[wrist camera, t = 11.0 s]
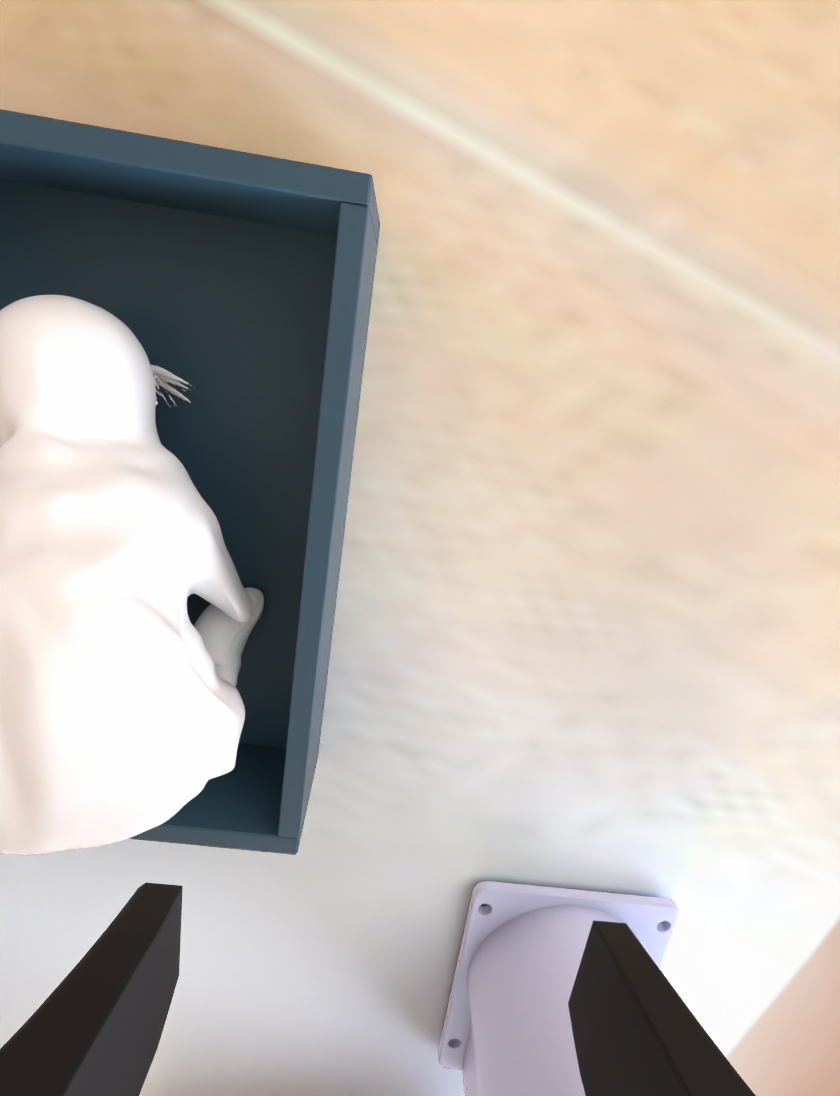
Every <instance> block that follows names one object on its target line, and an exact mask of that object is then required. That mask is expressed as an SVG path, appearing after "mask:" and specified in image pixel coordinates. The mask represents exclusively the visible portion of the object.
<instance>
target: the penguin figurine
mask: <svg viewBox="0 0 840 1096" xmlns="http://www.w3.org/2000/svg"><path fill="white" fill-rule="evenodd" d="M174 379H175V380H174ZM176 380H177V381H180V382H183V383H186V384H189V383H188V382H186V381H184V380H183V379H181V378H179V377H177V376H175V375H173V374H172V373H171V372H169V371H167V370H165V369H163V368H161V367H159V366H155V365H150V363H149V360H148V357H147V355H146V353H145V351H144V349H143V347H142V345H141V344H140V342H139V341H138V339H137V338H136V337H135V335H134V334H133V333H132V331H131V330H130V329H129V328H128V327H127V326H126V325H125V324H124V323H123V322H122V321H120V320H119V319H118V318H117V317H115V316H114V315H112V314H111V313H109V312H108V311H106V310H105V309H103V308H100V307H98V306H96V305H93V304H91V303H89V302H86V301H83V300H80V299H77V298H74V297H70V296H64V295H38V296H32V297H27V298H23V299H20V300H18V301H15V302H13V303H11V304H9V305H8V306H6V307H4V308H3V309H2V310H0V853H6V854H16V855H22V854H27V855H36V854H45V853H52V852H57V851H61V850H75V849H82V848H89V847H95V846H101V845H107V844H111V843H116V842H119V841H122V840H126V839H128V838H131V837H134V836H136V835H138V834H140V833H142V832H145V831H147V830H149V829H152V828H154V827H156V826H159V825H161V824H163V823H164V822H166V821H167V820H169V819H170V818H171V817H172V816H174V815H175V814H176V813H177V812H178V811H179V810H180V809H181V808H182V807H183V806H184V805H185V804H186V803H188V802H189V801H190V800H191V799H193V798H194V797H195V796H197V795H198V794H199V793H200V792H201V791H202V790H203V788H204V786H205V784H206V783H207V781H208V780H209V779H212V778H215V777H218V776H221V775H224V774H226V773H228V772H230V771H232V770H233V769H234V767H235V762H236V754H237V748H238V743H239V739H240V735H241V731H242V728H243V724H244V720H245V708H244V704H243V701H242V698H241V696H240V694H239V692H238V690H237V688H236V687H235V686H236V684H237V679H238V673H239V671H240V668H241V655H242V652H243V650H244V647H245V644H246V641H247V639H248V637H249V635H250V633H251V631H252V629H253V628H254V626H255V625H256V623H257V622H258V620H259V618H260V616H261V615H262V611H263V608H264V596H263V594H262V592H261V591H260V590H258V589H256V588H252V587H246V588H244V587H243V585H242V583H241V581H240V578H239V576H238V573H237V570H236V568H235V566H234V563H233V561H232V559H231V556H230V554H229V552H228V550H227V548H226V546H225V543H224V540H223V536H222V532H221V529H220V525H219V522H218V520H217V518H216V516H215V514H214V513H213V511H212V510H211V508H210V507H209V506H208V504H207V503H206V502H205V501H204V499H203V498H202V497H201V495H200V494H199V492H198V491H197V489H196V487H195V486H194V484H193V482H192V480H191V479H190V477H189V475H188V473H187V471H186V469H185V468H184V466H183V465H182V463H181V462H180V461H179V460H178V458H177V457H176V456H175V455H173V454H172V453H171V452H170V451H168V450H167V449H166V448H165V447H164V446H163V445H162V444H161V442H160V439H159V436H158V432H157V428H156V421H155V407H156V405H157V404H158V402H157V401H156V400H157V398H156V392H157V393H158V394H159V395H160V396H161V395H162V396H163V398H164V395H163V394H162V393H161V392H160V393H161V394H160V393H159V392H158V391H157V389H156V387H155V385H156V386H157V387H158V389H159V386H161V387H163V388H164V389H166V390H168V391H169V392H171V393H172V394H174V395H176V396H177V397H180V398H181V399H183V400H184V401H185V400H186V401H188V402H189V403H191V402H190V401H189V400H188V399H187V398H186V397H184V396H183V395H182V394H181V393H180V392H178V391H177V390H175V389H174V388H173V387H171V386H170V385H168V384H167V382H169V383H172V384H174V385H175V384H176V385H179V386H181V387H183V388H186V389H189V388H187V387H186V386H184V385H182V384H181V383H179V382H177V381H176ZM165 382H166V383H165ZM158 385H159V386H158ZM176 385H175V386H176ZM190 386H192V385H190ZM183 390H184V389H183ZM184 391H185V390H184ZM185 392H186V391H185ZM169 397H170V395H169ZM164 399H165V398H164ZM171 399H172V398H171V397H170V400H171ZM165 400H166V399H165ZM172 401H173V400H172ZM173 402H174V401H173ZM166 403H167V402H166ZM174 404H175V402H174ZM175 405H176V404H175ZM168 406H169V405H168ZM176 406H177V405H176ZM170 408H171V407H170ZM191 594H197V595H199V596H200V597H202V598H203V599H205V600H207V601H208V602H210V603H211V604H210V605H209V606H208V607H207V608H206V609H205V610H204V611H203V612H202V614H201V615H200V616H199V618H198V620H197V621H196V623H195V624H194V626H193V625H192V623H191V622H190V620H189V617H188V613H187V597H188V596H189V595H191Z"/></svg>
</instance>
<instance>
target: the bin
mask: <svg viewBox="0 0 840 1096" xmlns="http://www.w3.org/2000/svg"><path fill="white" fill-rule="evenodd" d="M379 228H380V221H379V216H378V210H377V204H376V197H375V191H374V185H373V179H372V176H371V175H370V174H366V173H360V172H354V171H349V170H343V169H337V168H332V167H326V166H320V165H315V164H309V163H303V162H297V161H292V160H286V159H280V158H275V157H269V156H263V155H258V154H252V153H246V152H240V151H235V150H229V149H223V148H218V147H212V146H206V145H201V144H195V143H189V142H184V141H178V140H172V139H166V138H161V137H155V136H149V135H144V134H138V133H132V132H127V131H121V130H115V129H110V128H104V127H98V126H92V125H87V124H81V123H75V122H70V121H64V120H58V119H53V118H47V117H41V116H36V115H30V114H24V113H18V112H13V111H7V110H1V109H0V310H2V309H3V308H4V307H6V306H8V305H9V304H11V303H13V302H15V301H18V300H20V299H23V298H27V297H32V296H38V295H64V296H70V297H74V298H77V299H80V300H83V301H86V302H89V303H91V304H93V305H96V306H98V307H100V308H103V309H105V310H106V311H108V312H109V313H111V314H112V315H114V316H115V317H117V318H118V319H119V320H120V321H122V322H123V323H124V324H125V325H126V326H127V327H128V328H129V329H130V330H131V331H132V333H133V334H134V335H135V337H136V338H137V339H138V341H139V342H140V344H141V345H142V347H143V349H144V351H145V353H146V355H147V357H148V360H149V363H150V365H155V366H159V367H161V368H163V369H165V370H167V371H169V372H171V373H172V374H173V375H175V376H177V377H179V378H181V379H183V380H184V381H186V382H188V383H189V384H186V383H183V382H180V381H177V380H176V381H177V382H179V383H181V384H182V385H184V386H186V387H187V388H189V389H186V388H183V387H181V386H179V385H176V384H175V385H176V386H175V385H174V384H172V383H169V382H167V384H168V385H170V386H171V387H173V388H174V389H175V390H177V391H178V392H180V393H181V394H182V395H183V396H184V397H186V398H187V399H188V400H189V401H190V402H191V403H189V402H188V401H186V400H185V401H184V400H183V399H181V398H180V397H177V396H176V395H174V394H172V393H171V392H169V391H168V390H166V389H164V388H163V387H161V386H159V385H158V386H159V389H158V387H157V386H156V385H155V387H156V389H157V391H158V392H159V393H160V392H161V393H162V394H163V395H164V398H165V399H166V400H165V399H164V398H163V396H162V395H161V396H160V395H159V394H158V393H157V392H156V398H157V400H156V401H157V402H158V404H157V405H156V407H155V421H156V428H157V432H158V436H159V439H160V442H161V444H162V445H163V446H164V447H165V448H166V449H167V450H168V451H170V452H171V453H172V454H173V455H175V456H176V457H177V458H178V460H179V461H180V462H181V463H182V465H183V466H184V468H185V469H186V471H187V473H188V475H189V477H190V479H191V480H192V482H193V484H194V486H195V487H196V489H197V491H198V492H199V494H200V495H201V497H202V498H203V499H204V501H205V502H206V503H207V504H208V506H209V507H210V508H211V510H212V511H213V513H214V514H215V516H216V518H217V520H218V522H219V525H220V529H221V532H222V536H223V540H224V543H225V546H226V548H227V550H228V552H229V554H230V556H231V559H232V561H233V563H234V566H235V568H236V570H237V573H238V576H239V578H240V581H241V583H242V585H243V587H244V588H246V587H252V588H256V589H258V590H260V591H261V592H262V594H263V596H264V608H263V611H262V615H261V616H260V618H259V620H258V622H257V623H256V625H255V626H254V628H253V629H252V631H251V633H250V635H249V637H248V639H247V641H246V644H245V647H244V650H243V652H242V655H241V668H240V671H239V673H238V679H237V684H236V686H235V687H236V688H237V690H238V692H239V694H240V696H241V698H242V701H243V704H244V708H245V720H244V724H243V728H242V731H241V735H240V739H239V743H238V748H237V754H236V762H235V767H234V769H233V770H232V771H230V772H228V773H226V774H224V775H221V776H218V777H215V778H212V779H209V780H208V781H207V783H206V784H205V786H204V788H203V790H202V791H201V792H200V793H199V794H198V795H197V796H195V797H194V798H193V799H191V800H190V801H189V802H188V803H186V804H185V805H184V806H183V807H182V808H181V809H180V810H179V811H178V812H177V813H176V814H175V815H174V816H172V817H171V818H170V819H169V820H167V821H166V822H164V823H163V824H161V825H159V826H156V827H154V828H152V829H149V830H147V831H145V832H142V833H140V834H138V835H136V836H134V837H131V838H128V839H138V840H149V841H159V842H169V843H180V844H190V845H200V846H210V847H221V848H231V849H241V850H251V851H262V852H272V853H282V854H292V855H295V854H296V853H297V852H298V847H299V842H300V838H301V833H302V828H303V824H304V819H305V814H306V810H307V805H308V800H309V796H310V791H311V786H312V782H313V777H314V772H315V768H316V763H317V758H318V751H319V742H320V734H321V725H322V716H323V708H324V699H325V691H326V682H327V674H328V665H329V656H330V648H331V639H332V631H333V622H334V614H335V605H336V597H337V588H338V579H339V571H340V562H341V554H342V545H343V537H344V528H345V519H346V511H347V502H348V494H349V485H350V477H351V468H352V460H353V451H354V442H355V434H356V425H357V417H358V408H359V400H360V391H361V383H362V374H363V365H364V357H365V348H366V340H367V331H368V323H369V314H370V305H371V297H372V288H373V280H374V271H375V263H376V254H377V246H378V237H379ZM174 380H175V379H174ZM165 383H166V382H165ZM190 385H192V386H190ZM183 389H184V390H185V391H186V392H185V391H184V390H183ZM161 393H160V394H161ZM169 395H170V397H171V398H172V399H171V400H170V397H169ZM172 400H173V401H174V402H175V404H176V405H177V406H176V405H175V404H174V402H173V401H172ZM166 402H167V403H166ZM168 405H169V406H168ZM170 407H171V408H170ZM210 604H211V603H210V602H208V601H207V600H205V599H203V598H202V597H200V596H199V595H197V594H191V595H189V596H188V597H187V613H188V617H189V620H190V622H191V623H192V625H193V626H194V624H195V623H196V621H197V620H198V618H199V616H200V615H201V614H202V612H203V611H204V610H205V609H206V608H207V607H208V606H209V605H210Z"/></svg>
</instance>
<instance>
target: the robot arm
mask: <svg viewBox="0 0 840 1096" xmlns="http://www.w3.org/2000/svg"><path fill="white" fill-rule="evenodd" d="M482 904H488V905H486V906H481V905H482ZM181 909H182V886H177V885H165V884H154V883H145V884H143V885H142V886H140V887H139V888H138V889H137V891H136V892H135V893H134V895H133V896H132V897H131V899H130V900H129V901H128V903H127V904H126V905H125V906H124V908H123V909H122V910H121V912H120V913H119V914H118V915H117V917H116V918H115V919H114V921H113V922H112V923H111V924H110V926H109V927H108V928H107V929H106V930H105V932H104V933H103V934H102V935H101V937H100V938H99V939H98V940H97V941H96V943H95V944H94V945H93V946H92V947H91V949H90V950H89V951H88V952H87V953H86V955H85V956H84V957H83V958H82V959H81V961H80V962H79V963H78V964H77V965H76V966H75V968H74V969H73V970H72V971H71V972H70V973H69V974H68V976H67V977H66V978H65V979H64V980H63V981H62V982H61V984H60V985H59V986H58V987H57V988H56V989H55V990H54V991H53V993H52V994H51V995H50V996H49V997H48V998H47V999H46V1001H45V1002H44V1003H43V1004H42V1005H41V1006H40V1007H39V1009H38V1010H37V1011H36V1012H35V1013H34V1014H33V1015H32V1016H31V1017H30V1018H29V1019H28V1021H27V1022H26V1023H25V1024H24V1025H23V1026H22V1027H21V1028H20V1029H19V1030H18V1031H17V1032H16V1033H15V1034H14V1035H13V1036H12V1037H11V1039H10V1040H9V1041H8V1042H7V1043H6V1044H5V1045H4V1046H3V1047H2V1048H1V1049H0V1096H139V1094H140V1091H141V1089H142V1086H143V1083H144V1081H145V1078H146V1076H147V1073H148V1071H149V1068H150V1066H151V1063H152V1060H153V1058H154V1055H155V1053H156V1050H157V1047H158V1044H159V1040H160V1037H161V1034H162V1031H163V1027H164V1024H165V1021H166V1017H167V1014H168V1011H169V1007H170V1004H171V1000H172V997H173V993H174V990H175V987H176V983H177V980H178V976H179V958H180V933H181ZM678 918H679V910H678V908H677V906H676V904H675V902H674V901H673V900H671V899H668V898H659V897H649V896H639V895H628V894H618V893H607V892H597V891H587V890H576V889H566V888H556V887H545V886H535V885H525V884H514V883H504V882H493V881H483V882H480V883H478V884H477V885H476V886H475V887H474V889H473V893H472V897H471V902H470V906H469V911H468V916H467V920H466V925H465V930H464V934H463V939H462V943H461V948H460V953H459V957H458V962H457V966H456V971H455V976H454V980H453V985H452V990H451V994H450V999H449V1003H448V1008H447V1013H446V1017H445V1022H444V1026H443V1031H442V1036H441V1040H440V1045H439V1049H438V1056H439V1063H440V1064H441V1065H442V1066H443V1067H445V1068H449V1069H462V1070H463V1081H464V1093H465V1096H755V1094H754V1093H753V1092H752V1091H751V1089H750V1088H749V1087H748V1086H747V1084H746V1083H745V1082H744V1081H743V1079H742V1078H741V1077H740V1076H739V1074H738V1073H737V1072H736V1071H735V1069H734V1068H733V1067H732V1065H731V1064H730V1063H729V1061H728V1060H727V1059H726V1058H725V1056H724V1055H723V1054H722V1052H721V1051H720V1050H719V1048H718V1047H717V1046H716V1045H715V1043H714V1042H713V1041H712V1039H711V1038H710V1037H709V1035H708V1034H707V1033H706V1031H705V1030H704V1029H703V1028H702V1026H701V1025H700V1024H699V1022H698V1021H697V1020H696V1018H695V1017H694V1016H693V1014H692V1013H691V1012H690V1010H689V1009H688V1007H687V1006H686V1005H685V1003H684V1002H683V1001H682V999H681V998H680V997H679V995H678V994H677V992H676V991H675V990H674V988H673V987H672V986H671V984H670V983H669V982H668V980H667V979H666V977H665V976H664V975H663V973H662V972H661V967H662V965H663V962H664V959H665V956H666V953H667V950H668V947H669V944H670V941H671V938H672V935H673V932H674V930H675V927H676V924H677V921H678ZM661 921H663V922H661Z"/></svg>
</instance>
